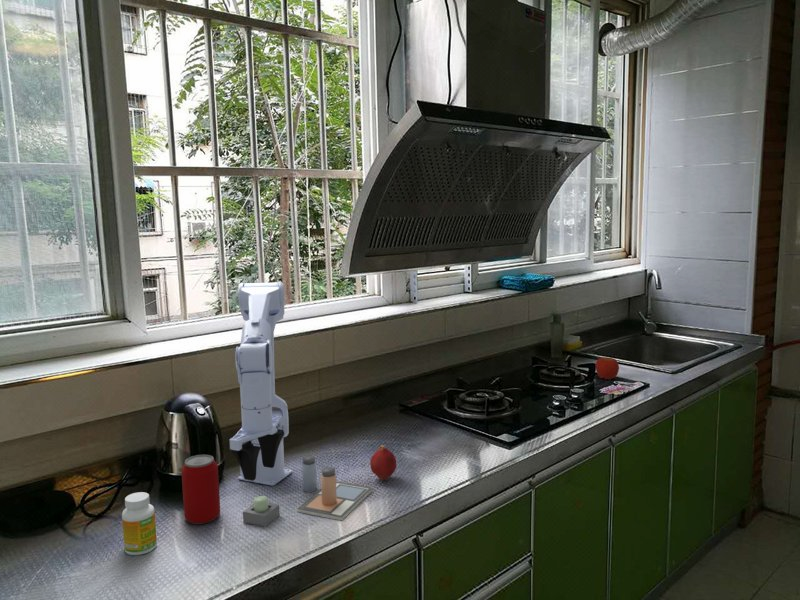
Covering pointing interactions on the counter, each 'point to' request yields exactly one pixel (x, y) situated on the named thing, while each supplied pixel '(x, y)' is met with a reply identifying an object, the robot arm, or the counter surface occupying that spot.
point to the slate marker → (309, 474)
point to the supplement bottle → (139, 524)
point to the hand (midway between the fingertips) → (259, 472)
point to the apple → (607, 367)
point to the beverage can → (200, 489)
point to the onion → (383, 463)
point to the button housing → (261, 515)
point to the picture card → (345, 503)
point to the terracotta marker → (328, 486)
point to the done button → (261, 504)
